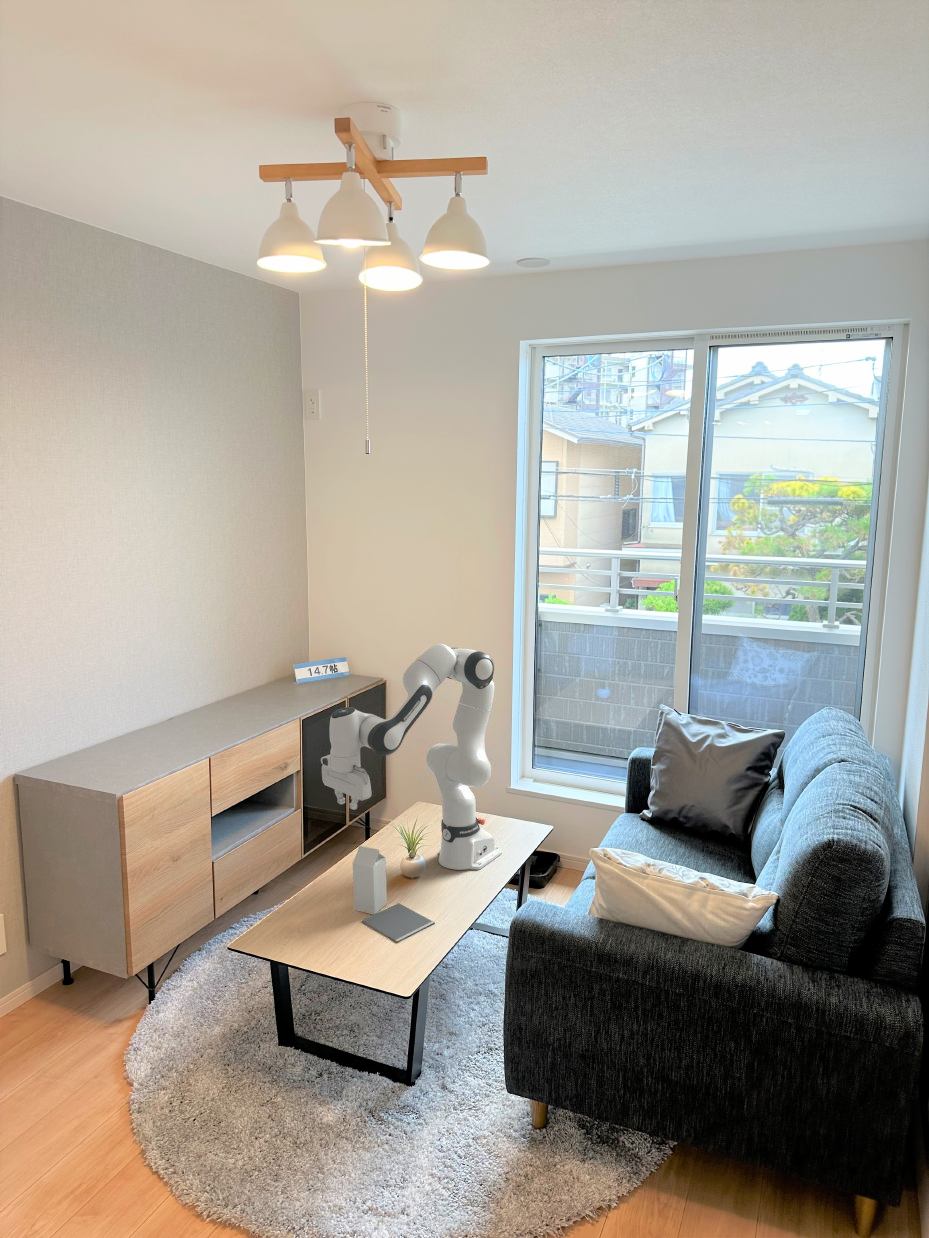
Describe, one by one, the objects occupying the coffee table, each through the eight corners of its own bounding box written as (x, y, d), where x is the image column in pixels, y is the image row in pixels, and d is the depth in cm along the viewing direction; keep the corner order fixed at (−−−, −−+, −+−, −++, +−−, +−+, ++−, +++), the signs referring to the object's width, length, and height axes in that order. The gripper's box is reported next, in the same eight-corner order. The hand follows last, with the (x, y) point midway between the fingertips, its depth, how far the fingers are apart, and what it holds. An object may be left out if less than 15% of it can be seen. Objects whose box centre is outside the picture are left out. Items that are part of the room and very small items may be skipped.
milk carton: (374, 915, 243) (372, 854, 240) (354, 910, 246) (351, 850, 243) (387, 904, 249) (385, 844, 246) (367, 899, 252) (364, 840, 249)
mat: (398, 904, 249) (398, 902, 249) (434, 923, 238) (434, 921, 238) (361, 921, 239) (361, 920, 239) (397, 942, 228) (397, 941, 228)
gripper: (375, 767, 242) (377, 812, 245) (334, 752, 257) (336, 794, 259) (358, 772, 238) (360, 818, 240) (317, 757, 252) (319, 800, 255)
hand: (347, 806), depth 250 cm, fingers open, 5 cm apart
